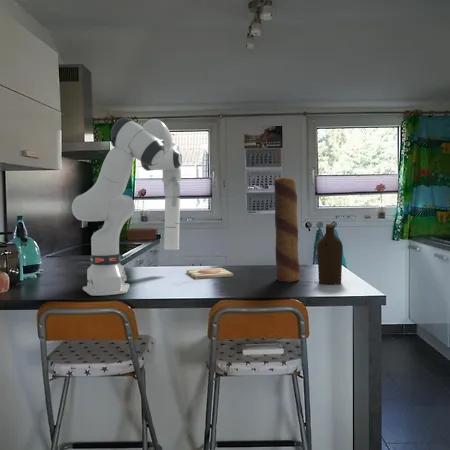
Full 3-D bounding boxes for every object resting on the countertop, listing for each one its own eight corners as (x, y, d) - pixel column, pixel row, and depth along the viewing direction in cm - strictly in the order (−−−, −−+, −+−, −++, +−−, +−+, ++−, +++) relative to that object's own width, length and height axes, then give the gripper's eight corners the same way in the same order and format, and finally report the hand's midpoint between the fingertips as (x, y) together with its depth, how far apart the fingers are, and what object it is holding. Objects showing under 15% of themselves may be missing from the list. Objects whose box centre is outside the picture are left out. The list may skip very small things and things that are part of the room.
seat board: (233, 276, 219) (233, 272, 219) (195, 279, 214) (195, 275, 213) (221, 270, 236) (221, 267, 236) (186, 273, 231) (186, 269, 231)
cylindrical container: (181, 249, 228) (183, 198, 227) (170, 250, 223) (171, 197, 222) (172, 248, 233) (173, 197, 232) (161, 248, 228) (162, 197, 227)
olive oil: (345, 284, 194) (345, 224, 193) (319, 285, 194) (319, 225, 193) (339, 280, 205) (339, 223, 203) (315, 280, 205) (314, 223, 204)
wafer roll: (270, 280, 207) (269, 178, 205) (284, 277, 215) (283, 178, 213) (289, 283, 200) (288, 177, 198) (303, 279, 208) (302, 177, 206)
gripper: (183, 176, 218) (183, 206, 218) (173, 178, 237) (174, 205, 238) (169, 176, 216) (170, 206, 216) (161, 178, 235) (162, 206, 236)
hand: (172, 206), depth 227 cm, fingers closed on cylindrical container, 7 cm apart
